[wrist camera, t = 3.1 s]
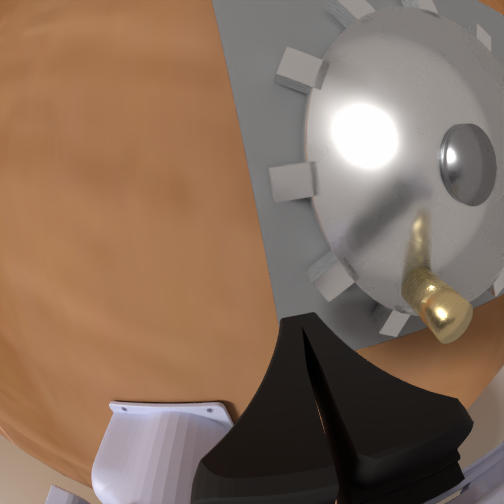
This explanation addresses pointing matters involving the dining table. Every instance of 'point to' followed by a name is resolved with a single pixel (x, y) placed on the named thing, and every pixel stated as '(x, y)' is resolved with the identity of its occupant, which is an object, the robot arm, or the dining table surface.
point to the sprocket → (402, 162)
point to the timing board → (289, 145)
